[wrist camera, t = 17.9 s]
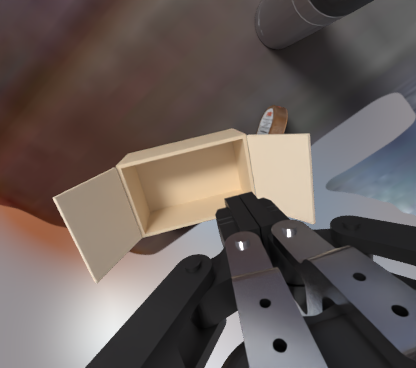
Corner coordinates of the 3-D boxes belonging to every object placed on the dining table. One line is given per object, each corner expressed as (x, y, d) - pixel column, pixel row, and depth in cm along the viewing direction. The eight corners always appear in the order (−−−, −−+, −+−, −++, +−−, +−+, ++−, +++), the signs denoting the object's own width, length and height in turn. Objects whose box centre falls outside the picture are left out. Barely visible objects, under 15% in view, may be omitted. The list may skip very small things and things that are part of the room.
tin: (253, 175, 52) (267, 188, 44) (240, 172, 51) (252, 185, 43) (276, 107, 48) (296, 108, 40) (262, 103, 47) (279, 103, 39)
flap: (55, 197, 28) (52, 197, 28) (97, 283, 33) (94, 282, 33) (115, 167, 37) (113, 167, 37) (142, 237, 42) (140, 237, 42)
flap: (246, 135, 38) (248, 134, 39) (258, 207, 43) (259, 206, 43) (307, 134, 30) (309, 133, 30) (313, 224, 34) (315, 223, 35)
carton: (232, 128, 48) (245, 134, 38) (243, 189, 53) (257, 207, 43) (128, 153, 47) (115, 165, 38) (149, 213, 52) (142, 237, 42)
